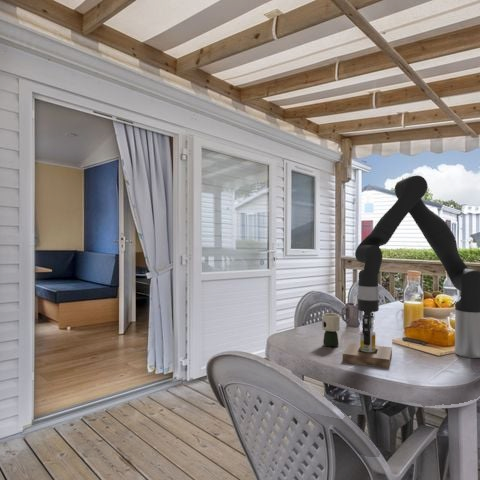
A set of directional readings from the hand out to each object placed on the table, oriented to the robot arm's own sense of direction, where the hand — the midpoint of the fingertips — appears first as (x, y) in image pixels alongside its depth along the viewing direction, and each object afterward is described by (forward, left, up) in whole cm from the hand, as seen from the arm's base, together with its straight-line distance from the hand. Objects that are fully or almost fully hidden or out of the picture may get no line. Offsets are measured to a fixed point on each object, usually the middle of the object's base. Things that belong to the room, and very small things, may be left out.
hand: (367, 342), depth 144 cm
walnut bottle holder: (0, 0, -6) cm, 6 cm away
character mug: (+16, -11, -6) cm, 20 cm away
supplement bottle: (0, 0, -3) cm, 3 cm away
